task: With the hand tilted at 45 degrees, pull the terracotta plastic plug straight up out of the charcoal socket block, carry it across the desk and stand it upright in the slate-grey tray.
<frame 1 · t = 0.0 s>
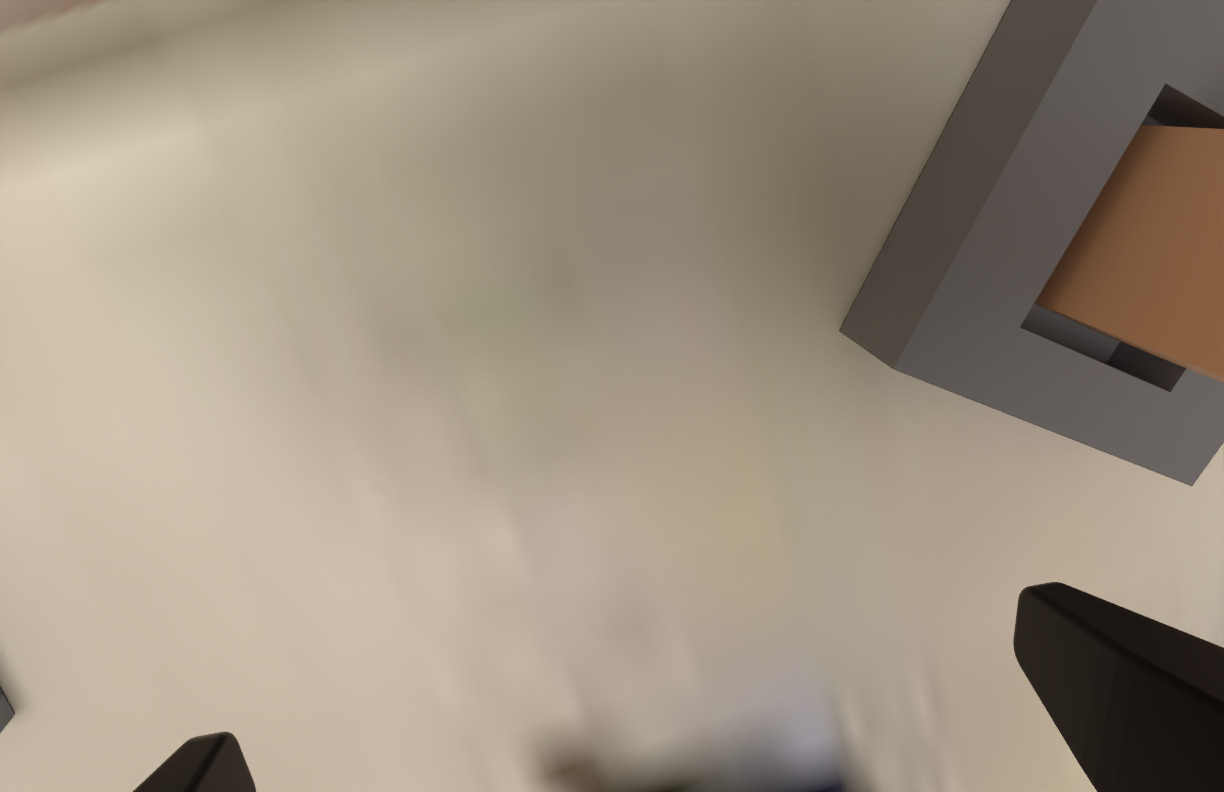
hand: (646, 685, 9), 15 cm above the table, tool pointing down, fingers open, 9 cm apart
plug: (1099, 234, 22), point 1 cm above the table, touching socket block
socket block: (1075, 228, 23), on the table
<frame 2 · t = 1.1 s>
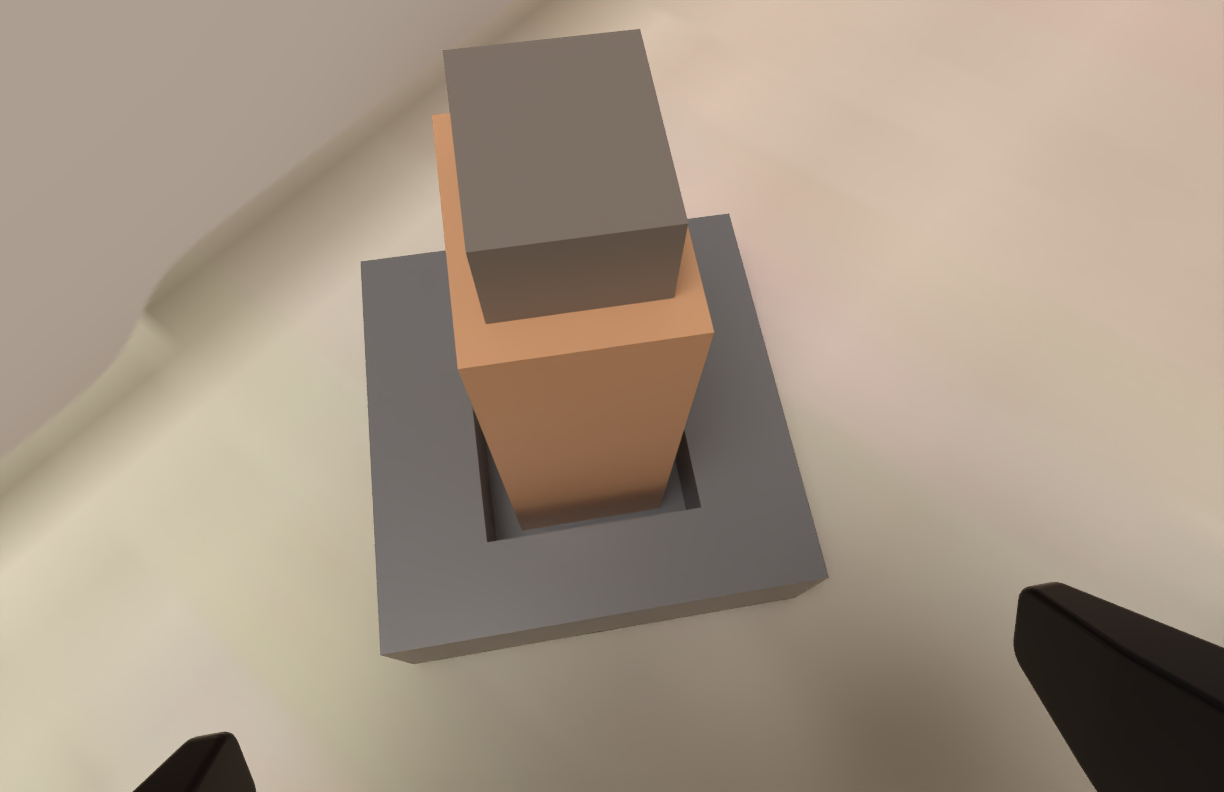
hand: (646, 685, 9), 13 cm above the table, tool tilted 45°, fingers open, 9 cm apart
plug: (578, 438, 23), point 1 cm above the table, touching socket block
socket block: (578, 448, 24), on the table
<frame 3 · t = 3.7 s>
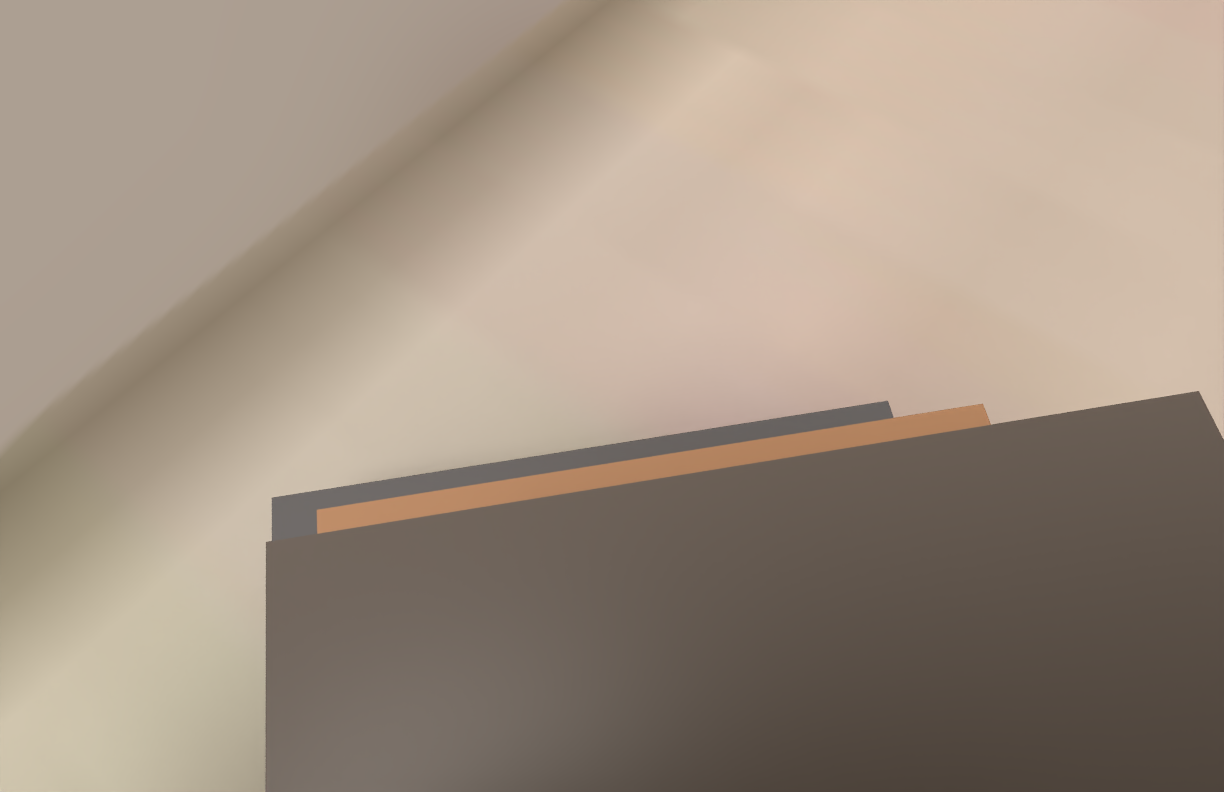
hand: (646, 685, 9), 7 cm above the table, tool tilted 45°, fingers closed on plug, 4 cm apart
plug: (640, 779, 14), point 1 cm above the table, touching gripper, socket block
socket block: (637, 775, 15), on the table
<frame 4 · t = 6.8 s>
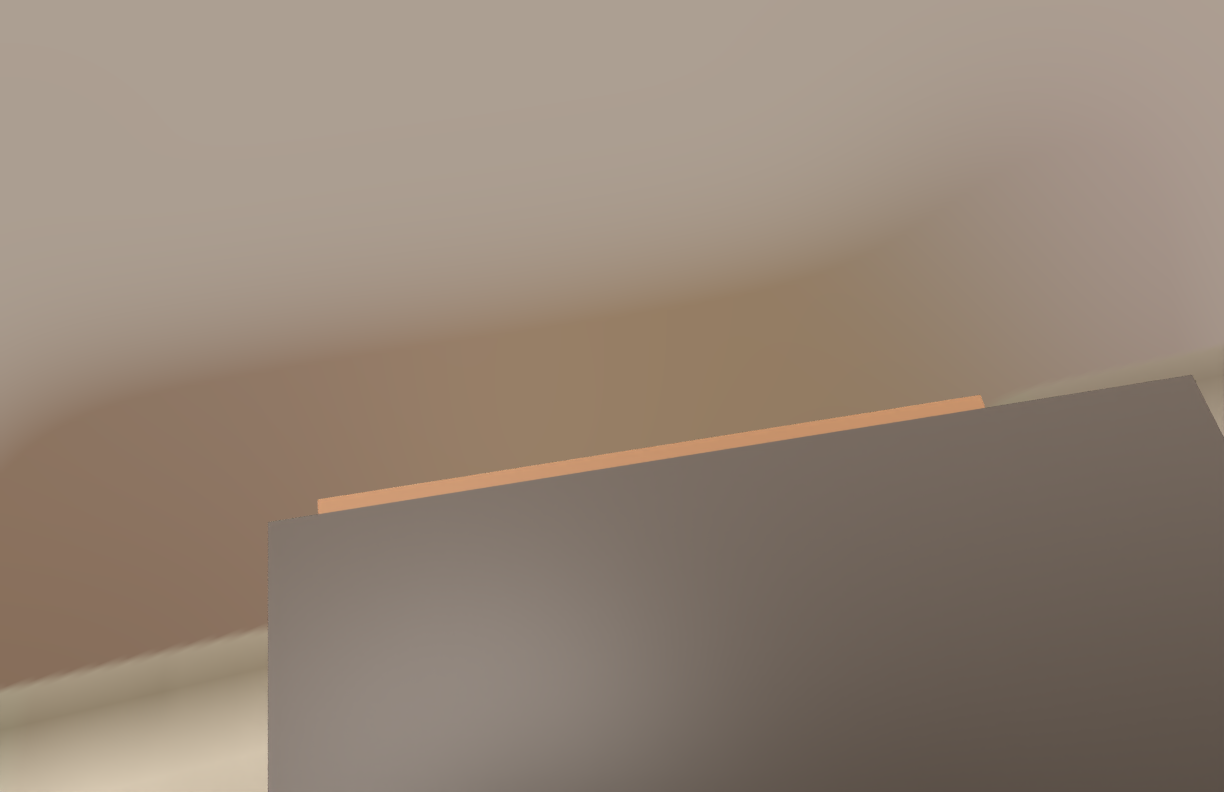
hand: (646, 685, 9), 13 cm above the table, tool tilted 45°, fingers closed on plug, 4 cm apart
plug: (640, 775, 14), point 7 cm above the table, touching gripper
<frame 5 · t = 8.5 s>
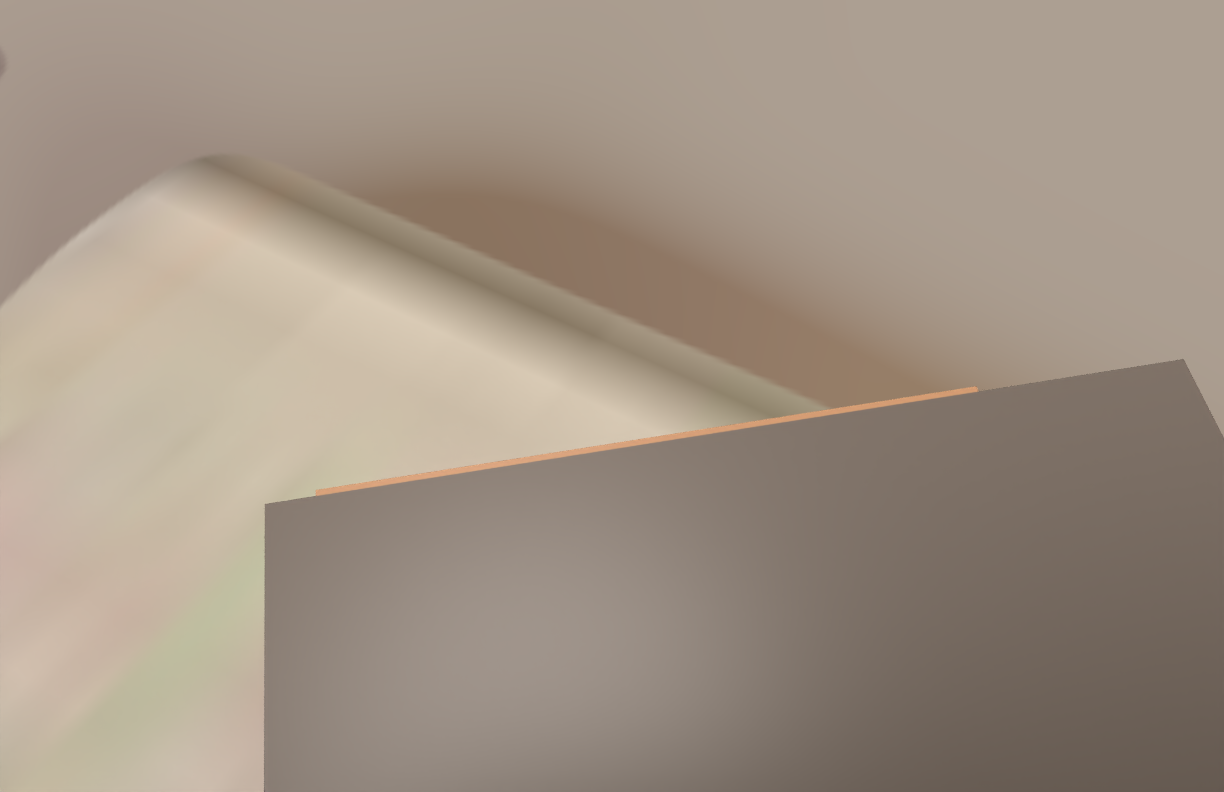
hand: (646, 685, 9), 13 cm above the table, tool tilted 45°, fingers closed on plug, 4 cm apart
plug: (639, 772, 14), point 7 cm above the table, touching gripper
when the fingers open (8 cm above the table, at t = 9.9 s): plug drops 1 cm, resting on tray.
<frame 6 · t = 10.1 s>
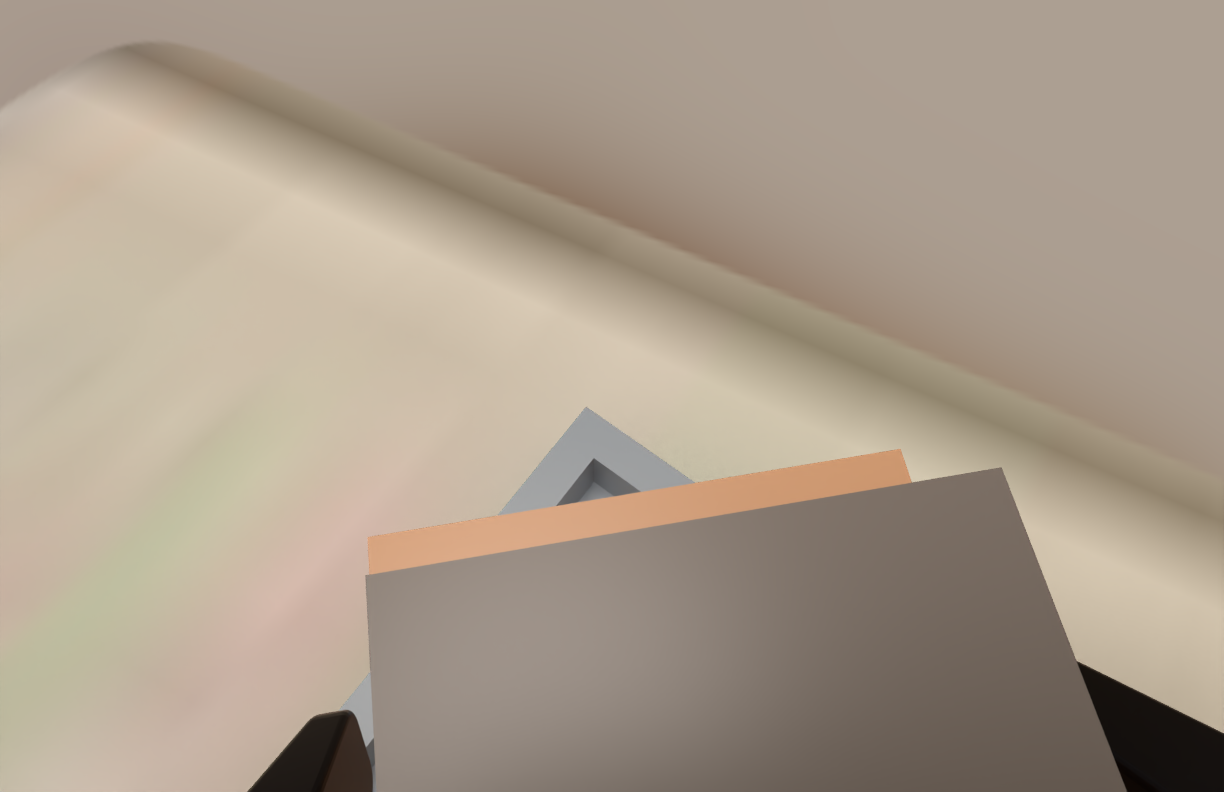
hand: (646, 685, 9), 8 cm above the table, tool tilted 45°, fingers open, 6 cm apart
plug: (634, 768, 15), point 1 cm above the table, touching tray
tray: (635, 771, 16), on the table
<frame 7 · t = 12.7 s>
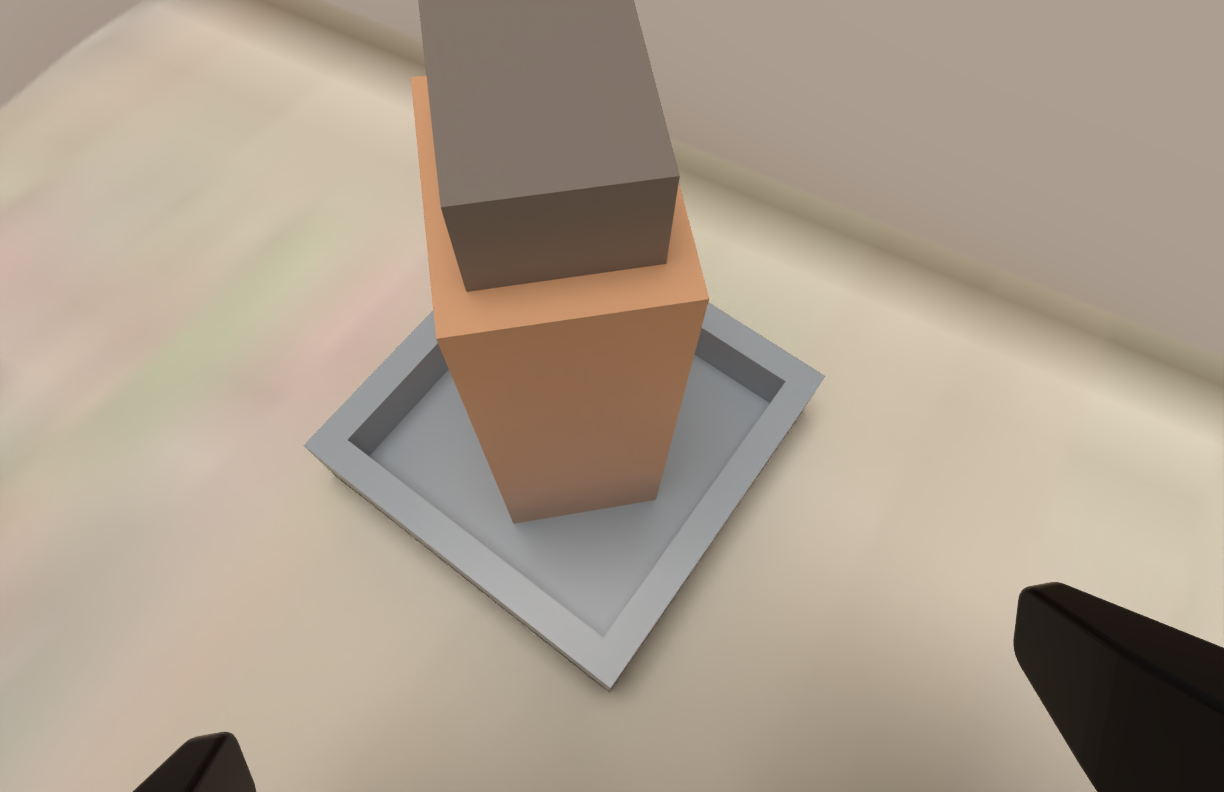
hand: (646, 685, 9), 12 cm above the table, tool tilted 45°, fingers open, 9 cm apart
plug: (571, 428, 22), point 1 cm above the table, touching tray
tray: (573, 441, 23), on the table
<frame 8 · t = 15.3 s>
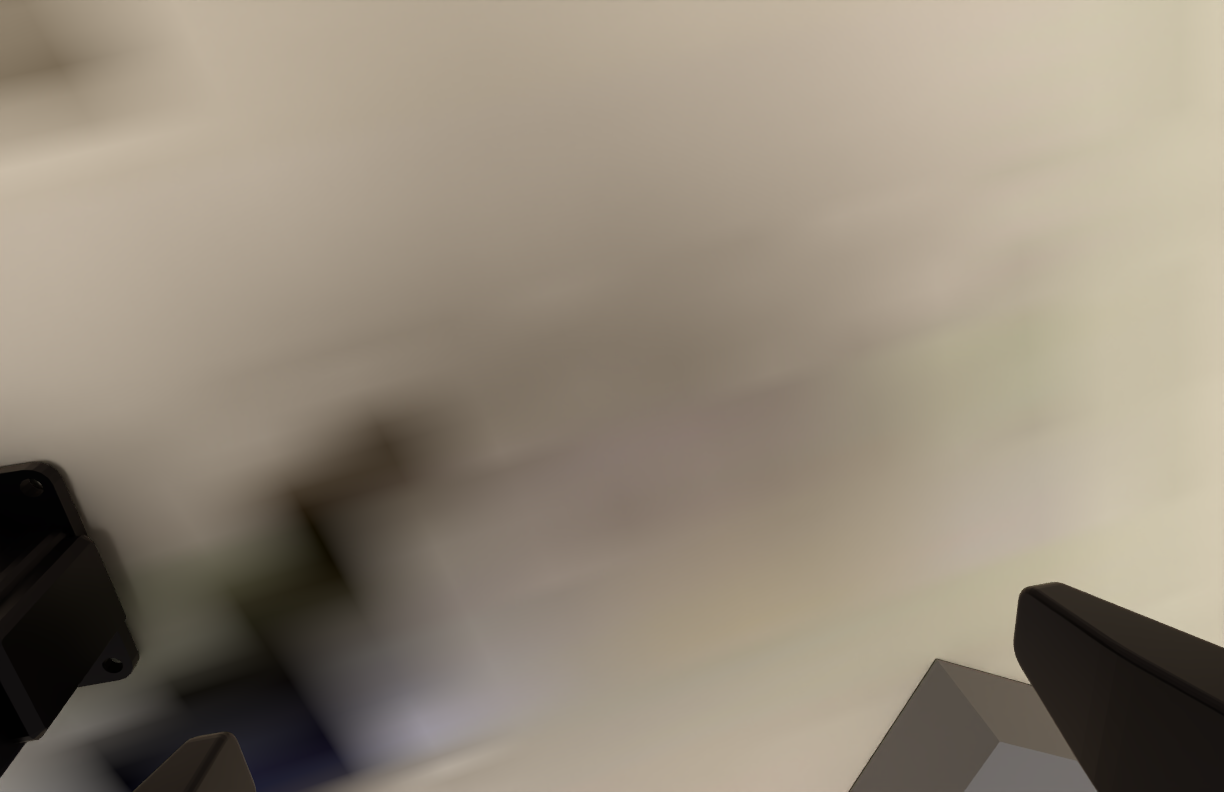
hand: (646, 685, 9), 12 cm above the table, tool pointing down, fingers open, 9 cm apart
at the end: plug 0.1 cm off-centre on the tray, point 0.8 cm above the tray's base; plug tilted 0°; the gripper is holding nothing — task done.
